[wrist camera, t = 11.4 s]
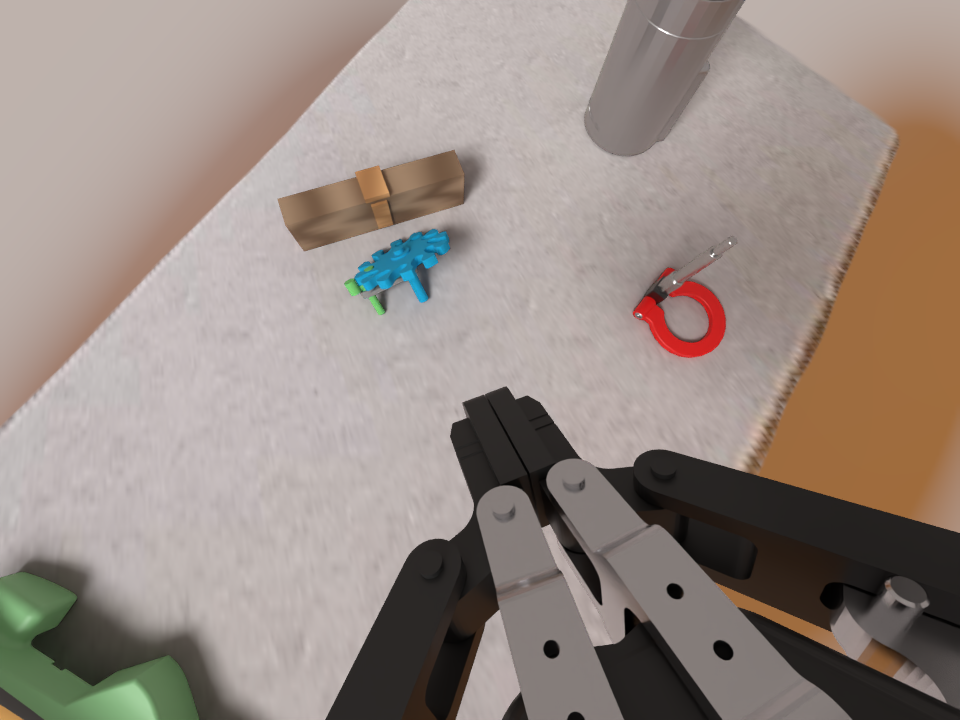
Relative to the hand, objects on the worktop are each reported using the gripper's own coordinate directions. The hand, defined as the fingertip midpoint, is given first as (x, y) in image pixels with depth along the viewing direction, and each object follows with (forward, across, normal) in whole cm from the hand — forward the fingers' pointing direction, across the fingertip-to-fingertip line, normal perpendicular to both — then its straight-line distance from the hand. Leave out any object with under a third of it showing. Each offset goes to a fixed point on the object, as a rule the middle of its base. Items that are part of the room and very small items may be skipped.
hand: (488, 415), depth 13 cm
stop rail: (+38, 0, +1) cm, 38 cm away
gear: (+33, 0, +7) cm, 34 cm away
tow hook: (+23, -27, +17) cm, 39 cm away
